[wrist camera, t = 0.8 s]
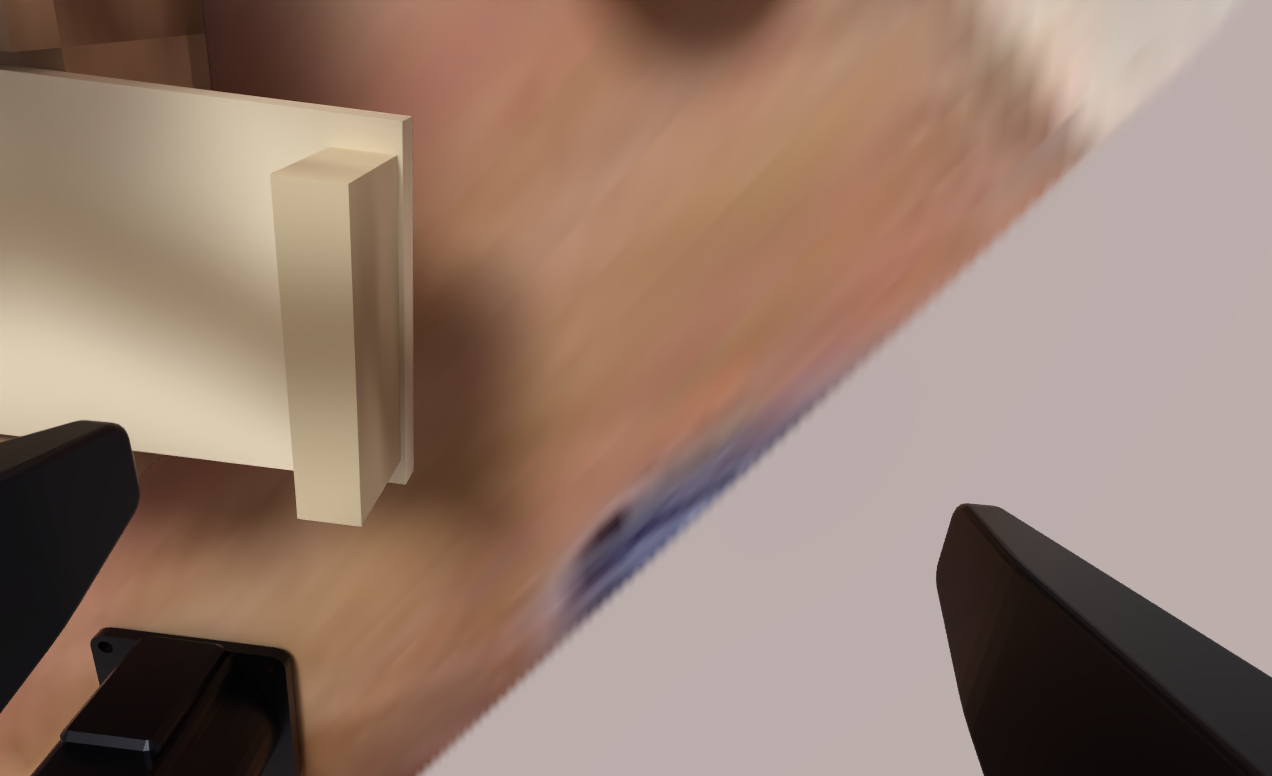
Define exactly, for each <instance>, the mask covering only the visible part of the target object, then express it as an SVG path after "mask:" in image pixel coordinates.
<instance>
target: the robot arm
mask: <svg viewBox="0 0 1272 776" xmlns="http://www.w3.org/2000/svg"><path fill="white" fill-rule="evenodd" d="M139 498H140V486H139V481H138V476H137V472H136V467H135V462H134V458H133V453H132V448H131V444H130V439H129V436H128V433H127V432H126V430H125V429H124V428H123V427H122V426H120V425H119V424H117V423H112V422H101V421H91V420H79V421H74V422H71V423H67V424H63V425H60V426H56V427H53V428H49V429H46V430H42V431H39V432H35V433H31V434H28V435H24V436H21V437H17V438H14V439H10V440H7V441H3V442H0V713H1V712H2V711H3V709H4V708H5V707H6V705H7V704H8V703H9V701H10V700H11V699H12V697H13V696H14V695H15V693H16V692H17V691H18V689H19V688H20V687H21V685H22V684H23V683H24V681H25V680H26V679H27V677H28V676H29V675H30V673H31V672H32V671H33V669H34V668H35V667H36V665H37V664H38V663H39V661H40V660H41V659H42V658H43V656H44V655H45V654H46V652H47V651H48V650H49V648H50V647H51V646H52V644H53V643H54V641H55V640H56V639H57V637H58V636H59V634H60V633H61V632H62V630H63V629H64V627H65V626H66V624H67V623H68V621H69V620H70V618H71V617H72V615H73V613H74V612H75V610H76V609H77V607H78V606H79V604H80V602H81V601H82V599H83V597H84V596H85V594H86V592H87V591H88V589H89V588H90V586H91V584H92V583H93V581H94V579H95V578H96V576H97V574H98V573H99V571H100V569H101V568H102V566H103V564H104V563H105V561H106V559H107V558H108V556H109V554H110V553H111V551H112V550H113V548H114V546H115V545H116V543H117V541H118V540H119V538H120V536H121V535H122V533H123V531H124V530H125V528H126V526H127V525H128V523H129V521H130V520H131V518H132V517H133V515H134V513H135V511H136V509H137V506H138V503H139ZM936 583H937V590H938V595H939V600H940V605H941V610H942V614H943V619H944V624H945V629H946V633H947V638H948V643H949V648H950V652H951V658H952V662H953V667H954V672H955V677H956V681H957V687H958V691H959V695H960V700H961V704H962V708H963V712H964V716H965V719H966V722H967V725H968V728H969V732H970V735H971V738H972V741H973V744H974V747H975V750H976V753H977V756H978V759H979V762H980V765H981V768H982V771H983V774H984V776H1272V677H1270V676H1269V675H1267V674H1265V673H1264V672H1262V671H1261V670H1259V669H1257V668H1256V667H1254V666H1253V665H1251V664H1249V663H1248V662H1246V661H1245V660H1243V659H1241V658H1240V657H1238V656H1237V655H1235V654H1233V653H1232V652H1230V651H1229V650H1227V649H1225V648H1224V647H1222V646H1220V645H1219V644H1218V643H1216V642H1214V641H1213V640H1211V639H1210V638H1208V637H1206V636H1205V635H1203V634H1201V633H1200V632H1198V631H1197V630H1195V629H1194V628H1192V627H1190V626H1189V625H1187V624H1186V623H1184V622H1182V621H1181V620H1179V619H1177V618H1176V617H1174V616H1173V615H1171V614H1170V613H1168V612H1166V611H1165V610H1163V609H1162V608H1160V607H1158V606H1157V605H1155V604H1154V603H1151V602H1150V601H1149V600H1147V599H1145V598H1144V597H1142V596H1141V595H1139V594H1137V593H1136V592H1134V591H1133V590H1131V589H1130V588H1128V587H1126V586H1125V585H1123V584H1122V583H1120V582H1118V581H1117V580H1115V579H1114V578H1112V577H1110V576H1109V575H1107V574H1106V573H1104V572H1102V571H1100V570H1099V569H1098V568H1096V567H1094V566H1093V565H1091V564H1090V563H1088V562H1087V561H1085V560H1083V559H1082V558H1080V557H1079V556H1077V555H1075V554H1074V553H1072V552H1070V551H1069V550H1067V549H1066V548H1064V547H1062V546H1061V545H1059V544H1058V543H1056V542H1054V541H1053V540H1051V539H1050V538H1048V537H1047V536H1045V535H1043V534H1042V533H1040V532H1038V531H1037V530H1035V529H1034V528H1032V527H1030V526H1029V525H1027V524H1026V523H1024V522H1022V521H1021V520H1019V519H1018V518H1016V517H1015V516H1013V515H1011V514H1010V513H1008V512H1006V511H1005V510H1003V509H1002V508H1000V507H996V506H990V505H979V504H969V503H966V504H961V505H960V506H958V507H957V508H956V510H955V511H954V513H953V515H952V518H951V521H950V525H949V528H948V532H947V535H946V538H945V542H944V545H943V548H942V552H941V555H940V558H939V561H938V565H937V571H936ZM91 650H92V654H93V658H94V662H95V667H96V671H97V675H98V680H99V684H100V687H99V688H98V689H97V690H96V691H95V693H94V694H93V695H92V696H91V697H90V699H89V700H88V701H87V702H86V703H85V705H84V706H83V707H82V708H81V709H80V711H79V712H78V713H77V714H76V715H75V717H74V718H73V719H72V720H71V721H70V723H69V724H68V725H67V726H66V727H65V729H64V730H63V731H62V733H61V735H60V738H61V739H60V741H59V742H58V743H57V744H56V745H55V747H54V748H53V749H52V750H51V751H50V753H49V754H48V755H47V756H46V758H45V759H44V760H43V761H42V762H41V764H40V765H39V766H38V767H37V768H36V770H35V771H34V772H33V773H32V774H31V776H300V775H301V767H300V757H299V746H298V735H297V724H296V714H295V703H294V692H293V681H292V670H291V660H290V658H289V656H288V655H287V653H286V652H284V651H282V650H281V649H277V648H273V647H265V646H256V645H248V644H240V643H232V642H224V641H216V640H208V639H200V638H192V637H184V636H176V635H168V634H159V633H151V632H143V631H135V630H127V629H119V628H111V627H109V628H103V629H101V630H100V631H99V632H98V633H97V634H96V635H95V636H94V638H93V639H92V640H91ZM271 662H272V663H271ZM273 663H274V664H273Z"/></svg>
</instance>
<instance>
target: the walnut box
mask: <svg viewBox="0 0 1272 776" xmlns="http://www.w3.org/2000/svg"><path fill="white" fill-rule="evenodd" d="M0 64H7V65H15V66H23V67H31V68H39V69H47V70H54V71H62V72H70V73H78V74H86V75H93V76H101V77H109V78H117V79H125V80H133V81H140V82H148V83H156V84H164V85H172V86H180V87H187V88H195V89H203V90H211V83H210V74H209V65H208V55H207V46H206V36H205V27H204V18H203V8H202V0H0ZM17 437H21V436H13V435H5V434H0V442H3V441H7V440H10V439H14V438H17ZM132 453H133V458H134V462H135V467H136V472H137V476H138V477H139V476H140V475H141V474H142V473H143V472H145V471H146V470H147V469H148V468H149V467H150V466H151V465H152V464H153V463H155V462H156V461H157V460H158V459H159V458H160V457H161V456H162V455H163V454H157V453H149V452H141V451H133V450H132Z"/></svg>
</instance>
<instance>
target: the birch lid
mask: <svg viewBox="0 0 1272 776" xmlns="http://www.w3.org/2000/svg"><path fill="white" fill-rule="evenodd" d="M79 420H91V421H101V422H112V423H117V424H119V425H120V426H122V427H123V428H124V429H125V430H126V432H127V433H128V436H129V439H130V444H131V448H132V450H133V451H141V452H149V453H157V454H165V455H173V456H181V457H189V458H197V459H205V460H213V461H221V462H229V463H237V464H245V465H253V466H261V467H269V468H277V469H284V470H292V471H294V481H295V494H296V506H297V519H304V520H312V521H320V522H328V523H336V524H344V525H352V526H360V527H362V525H363V523H364V522H365V520H366V518H367V517H368V515H369V513H370V511H371V510H372V508H373V506H374V505H375V503H376V501H377V500H378V498H379V496H380V495H381V493H382V491H383V490H384V488H385V486H386V484H387V483H396V484H404V485H406V483H407V481H408V480H409V478H410V476H411V474H412V472H413V471H414V402H413V160H412V116H406V115H399V114H391V113H383V112H375V111H367V110H359V109H352V108H344V107H336V106H328V105H320V104H313V103H305V102H297V101H289V100H281V99H273V98H266V97H258V96H250V95H242V94H234V93H226V92H219V91H211V90H203V89H195V88H187V87H180V86H172V85H164V84H156V83H148V82H140V81H133V80H125V79H117V78H109V77H101V76H93V75H86V74H78V73H70V72H62V71H54V70H47V69H39V68H31V67H23V66H15V65H7V64H0V434H5V435H13V436H24V435H28V434H31V433H35V432H39V431H42V430H46V429H49V428H53V427H56V426H60V425H63V424H67V423H71V422H74V421H79Z"/></svg>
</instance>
